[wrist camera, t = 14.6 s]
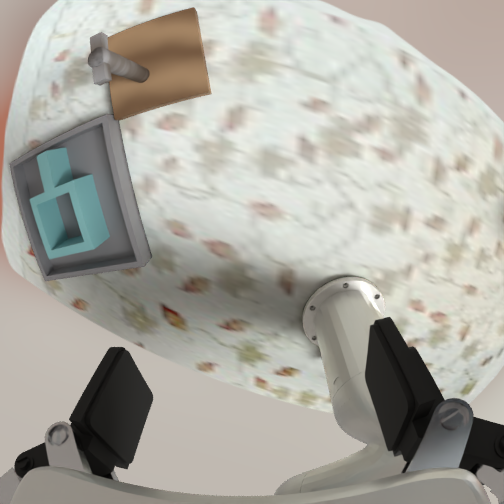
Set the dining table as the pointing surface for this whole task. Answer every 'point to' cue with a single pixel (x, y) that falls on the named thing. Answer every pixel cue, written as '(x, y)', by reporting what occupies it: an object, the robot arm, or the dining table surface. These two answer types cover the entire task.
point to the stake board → (151, 63)
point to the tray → (109, 193)
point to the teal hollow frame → (84, 204)
